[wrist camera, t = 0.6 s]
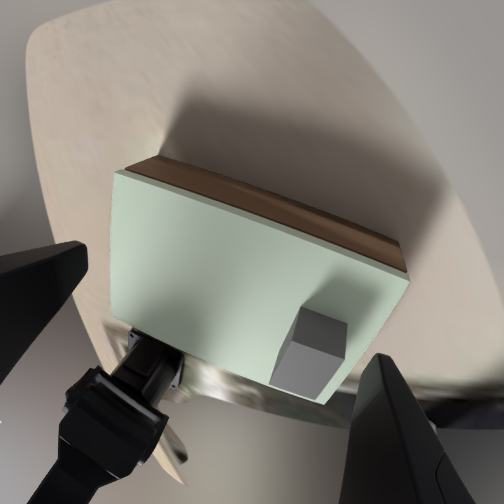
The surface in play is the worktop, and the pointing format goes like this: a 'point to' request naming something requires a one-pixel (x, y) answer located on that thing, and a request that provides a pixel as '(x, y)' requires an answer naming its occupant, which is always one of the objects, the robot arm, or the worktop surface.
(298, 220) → the tea box
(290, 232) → the lid
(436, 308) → the worktop surface
